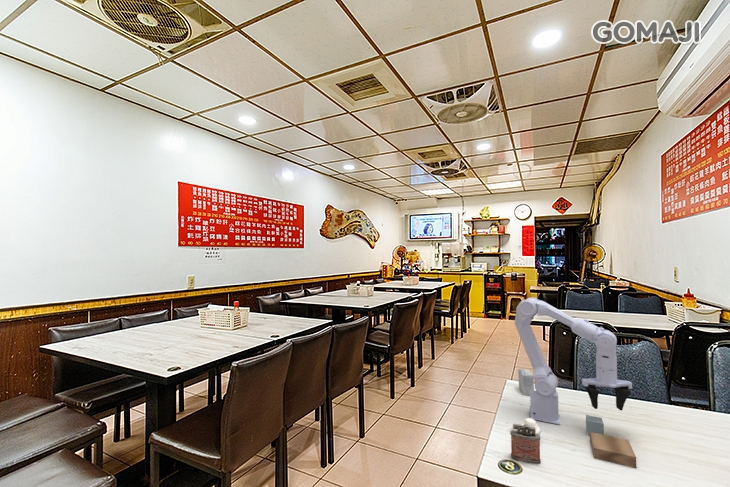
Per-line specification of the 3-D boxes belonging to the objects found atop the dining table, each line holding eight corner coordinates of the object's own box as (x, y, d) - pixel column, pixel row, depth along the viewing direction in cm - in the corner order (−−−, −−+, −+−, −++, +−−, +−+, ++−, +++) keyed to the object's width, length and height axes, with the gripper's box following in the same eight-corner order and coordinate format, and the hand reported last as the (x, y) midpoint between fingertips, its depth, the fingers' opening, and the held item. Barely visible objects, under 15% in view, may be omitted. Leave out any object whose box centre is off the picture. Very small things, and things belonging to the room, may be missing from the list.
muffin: (521, 443, 108) (520, 421, 108) (519, 433, 113) (519, 412, 114) (542, 447, 106) (542, 424, 106) (539, 437, 111) (539, 415, 112)
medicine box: (534, 396, 143) (533, 375, 143) (523, 395, 144) (522, 375, 144) (529, 388, 151) (528, 369, 151) (518, 388, 151) (518, 368, 152)
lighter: (539, 458, 100) (539, 424, 100) (541, 465, 96) (541, 430, 97) (510, 453, 102) (509, 420, 103) (511, 460, 99) (510, 425, 99)
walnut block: (594, 458, 100) (593, 447, 100) (589, 441, 109) (589, 431, 109) (636, 468, 95) (636, 457, 95) (628, 449, 104) (628, 439, 104)
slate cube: (587, 435, 112) (587, 420, 112) (586, 429, 116) (585, 414, 116) (604, 439, 110) (603, 423, 110) (601, 432, 114) (601, 417, 114)
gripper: (589, 370, 110) (589, 412, 110) (638, 373, 108) (638, 415, 108) (578, 363, 117) (579, 402, 117) (624, 365, 115) (624, 405, 115)
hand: (607, 408), depth 113 cm, fingers open, 7 cm apart
